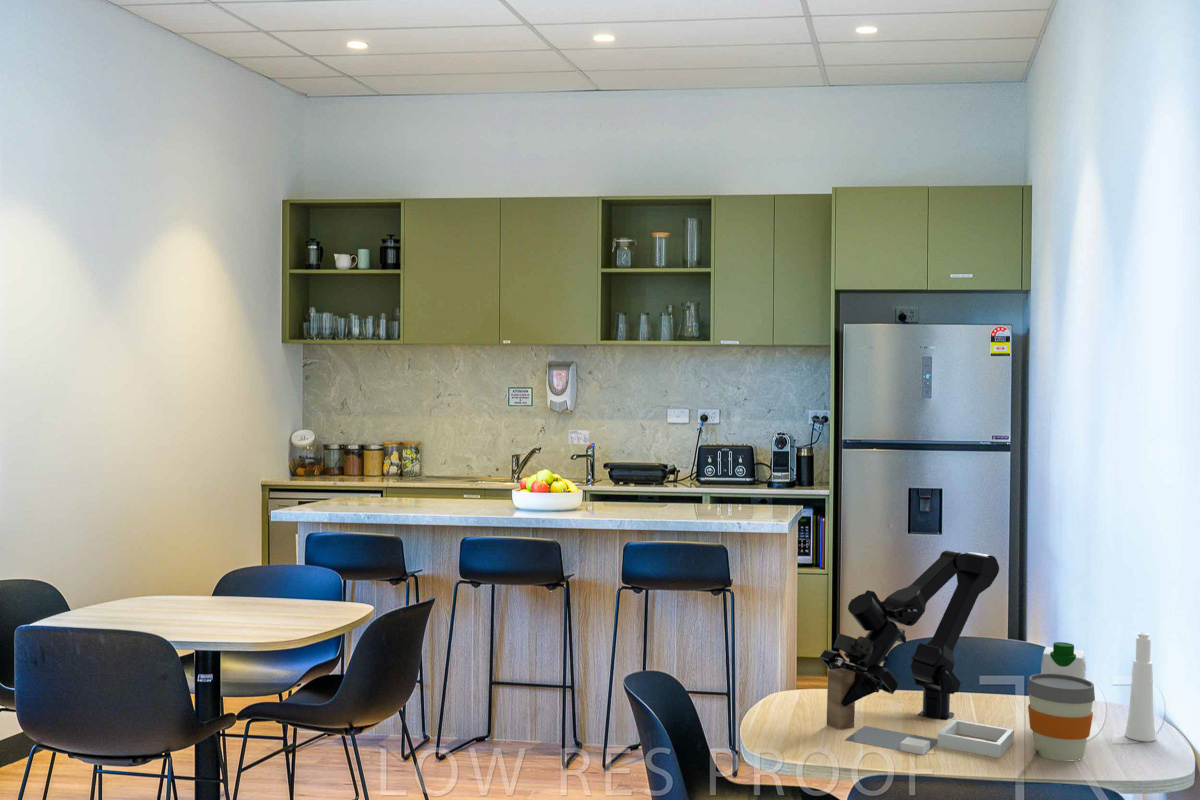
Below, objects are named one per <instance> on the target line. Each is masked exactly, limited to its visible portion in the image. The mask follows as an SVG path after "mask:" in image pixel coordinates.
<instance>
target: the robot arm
mask: <svg viewBox="0 0 1200 800" xmlns="http://www.w3.org/2000/svg"><path fill="white" fill-rule="evenodd" d="M997 560H998V559H997V558H996V557H995V556H994V555H992V554H985V553H980V552H975V551H967V552H964V553H963V552H960V551H956V550H955V551H954V550H950V549H947V550H943V551H942V552H941V553H940V556H939V558H937V560H935V561H934V563H932V564H931V565H930V566H929V567H928V568H926V570H925V571H924V572H923V573H922V574H920V575H919V577H917V578H916V579H915V580H914V581H913V582H912V583H911V584H910V585H908V586H907V587H902V588H901V589H897V590H896V591H894V592H892V593H891V594H889V595H888V596H887V597H886V598H885V599H884V600H880V599H879V597H878V595H877V594H876V592H875V591H873V590H870V589H867V590H866V591H865V592H864V593H861V594H859V595H857V596H855V597H854V598H852V599H851V600H850V601H849V603H848V606H847V608H848V612H849V613H850V614H851V616H852V617H853V619H854V620H855V621H856V622H857V623H858V624H859V626H860V627H861V628H862V629H863V631H866V632H867V634H866V635H865V637H864V636H862V635H859V636H858V637H857V638H855V637H852V636H850V635H847V634H843V633H838V634H837V637H836V640H835V641H834V645H833V648H834V649H836V650H840V651H843V653H844V654H843V655H844V656H845V657H846V658H847V659H848V661H847V660H846V659H845V658H844V656H843V655H842V654H841V653H840V652H839V651H835V650H832V649H824V650H823V651H822V652H821V654H820V656H819V658H820V661H822V663H824V665H825V666H826V667H827V669H828V670H831V669H839V668H844V669H847V670H850V671H853V672H856V673H855V681H854V683H853V684H852V686H851V687H850V689H849V691H848V692H847V694H846V695H845V697H844V699H843V701H842V705H843V706H847V705H849V704H851V703H853V702H855V703H856V701H859V700H860V699H863V698H865V697H868V696H869V695H872V694H874V693H877V694H878V693H879V692H880V689H879V687H880V686H881V688H882V691H883V692H886V693H888V694H890V695H894V693H895V692H896V691H897V689H898V684H899V683H898V680H897V678H896V677H895V676H894V675H893V673H892V672H891V671H890V669H889V668H888V667H886V666H884V665H882V663H886V664H887V663H888V661H890V659H889V657H888V656H887V655H888V654H889V652H890V651H891V650H892V648H893V647H894V645H895V644H896V642H900V643H902V644H906V643H907V637H906V634H905V633H906V630H905V629H903V628H899V626H898V625H897V624H900V625H903V626H908V627H912V626H914V625H916V624H917V623H918V621H919V620H920V619H921V617H922V616H923V615H924V614H925V612H926V606H927V603H928V602H929V601H930V600H931V598H932V597H933V596H935V595H936V594H937V592H939V591H940V590H941V589H942V588H943V587H944V586H945V585H946V584H947V583H948V582H949V581H950V580H952V578H954V576H955V575H956V581H957V585H956V587H955V588H954V589H955V590H954V592H953V594H952V596H951V598H950V600H949V603H948V604H947V607H946V609H945V611H944V613H943V615H942V617H941V619H940V621H939V624H938V625H937V627H936V630H935V631H934V633H933V636H932V638H931V640H930V641H928V642H927V643H922V642H919V643H918V644H917V646H916V649H915V652H914V654H913V655H912V656H911V658H910V659H911V664H910V669H911V673H912V677H913V680H914V684H915V686H919V687H922V688H923V689H922V692H923V693H922V710H921V711H920V712H918V713H917V716H919V717H923V718H930V719H936V720H941V721H948V720H949V719H952V718H953V717H954V716H955V712H951V711H950V705H951V695H954V694H955V693H958V692H959V690H960V688H961V683H962V682H961V681H960V680H959V678H958V677H957V676H956V675H955V674H954V672H953V670H954V667H955V660H954V659H955V657H954V649H955V647H956V644H957V643H958V640H959V638H960V636H961V634H962V632H963V630H964V628H965V625H966V623H967V622H968V619H969V617H970V614H971V613H972V611H973V608H974V606H975V603H976V602H977V599H978V597H979V595H980V594H981V593H982V592H984V591H986V590H987V589H988V588H990V587H991V586H992V584H993V583H994V581H995V579H996V578H997V577H998V574H999V572H1000V565H999V562H998V561H997ZM896 623H897V624H896Z"/></svg>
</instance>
